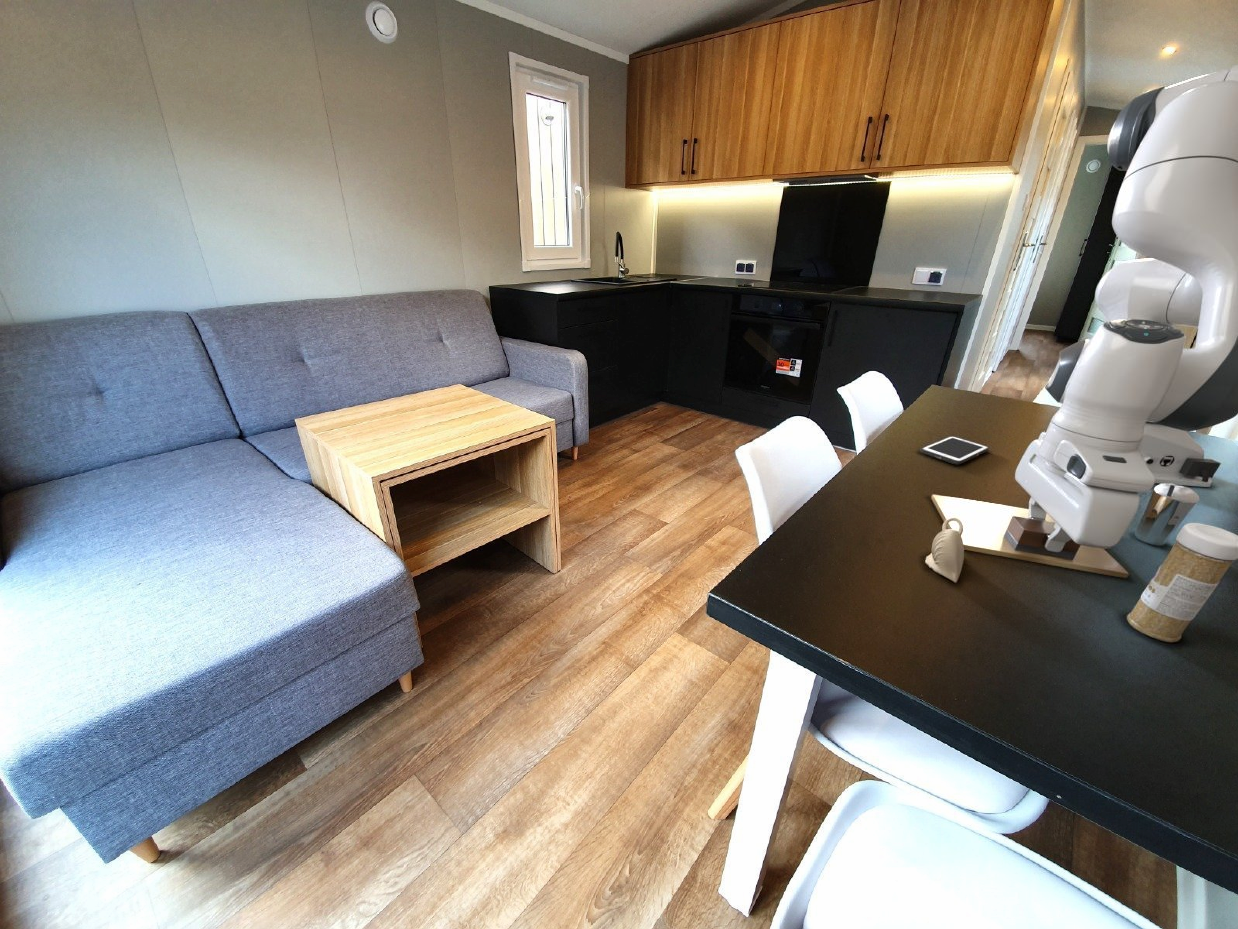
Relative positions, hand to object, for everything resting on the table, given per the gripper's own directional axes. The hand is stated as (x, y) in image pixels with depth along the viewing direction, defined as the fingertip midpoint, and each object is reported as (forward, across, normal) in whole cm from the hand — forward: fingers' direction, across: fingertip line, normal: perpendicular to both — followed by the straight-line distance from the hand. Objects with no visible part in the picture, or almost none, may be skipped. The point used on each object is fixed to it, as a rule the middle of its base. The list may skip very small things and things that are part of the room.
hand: (1041, 538), depth 70 cm
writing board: (+2, -5, 0) cm, 6 cm away
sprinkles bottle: (+3, +14, +6) cm, 16 cm away
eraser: (+2, 0, 0) cm, 2 cm away
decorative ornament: (+3, +8, -14) cm, 16 cm away
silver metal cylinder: (+2, -10, +18) cm, 21 cm away
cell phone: (+2, -38, 0) cm, 38 cm away
